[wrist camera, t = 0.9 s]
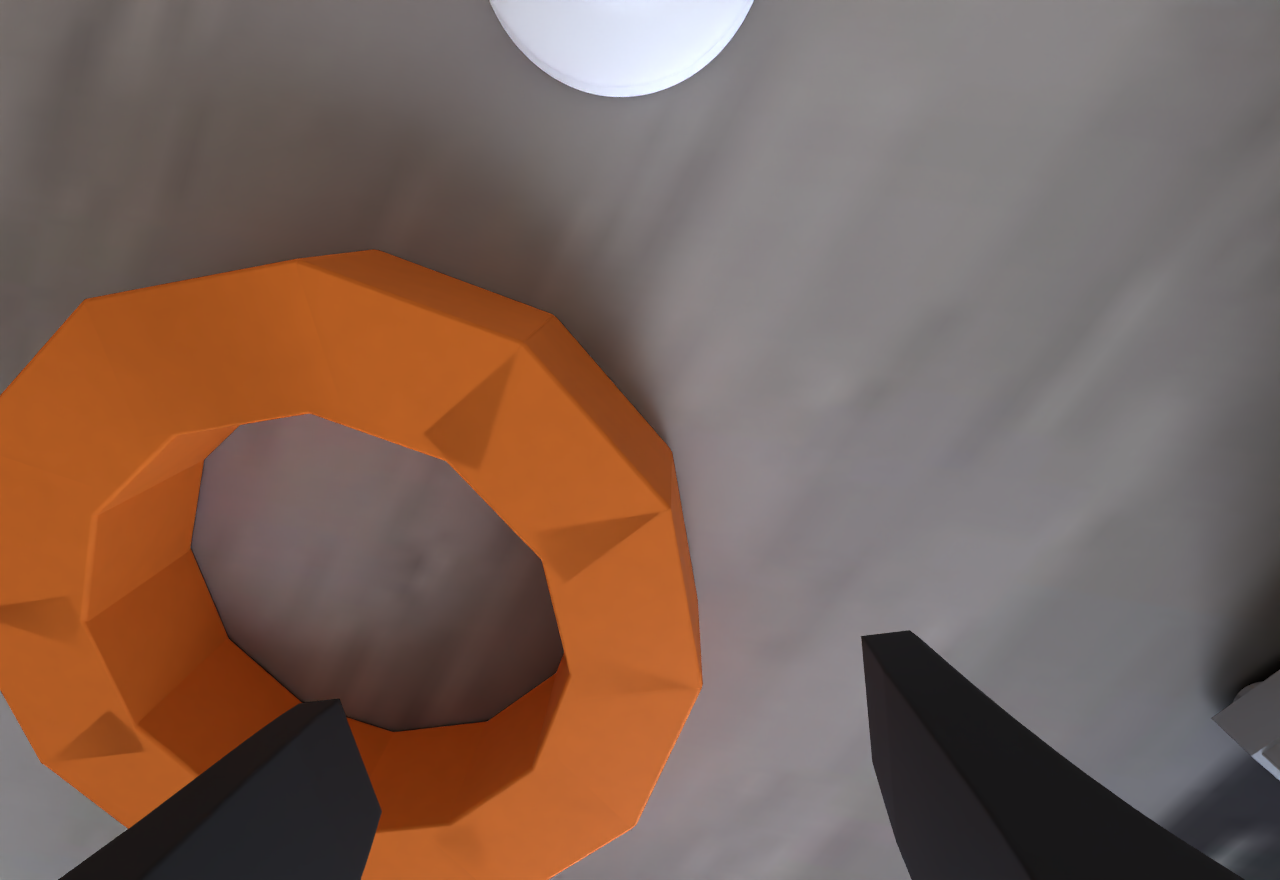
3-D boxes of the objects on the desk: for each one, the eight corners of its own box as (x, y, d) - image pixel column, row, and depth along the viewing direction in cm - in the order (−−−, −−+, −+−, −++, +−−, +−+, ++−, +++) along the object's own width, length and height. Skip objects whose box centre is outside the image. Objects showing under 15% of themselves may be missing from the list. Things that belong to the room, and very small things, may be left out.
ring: (221, 825, 18) (138, 938, 15) (-17, 323, 14) (-192, 351, 11) (727, 773, 17) (738, 887, 14) (628, 200, 13) (615, 197, 10)
